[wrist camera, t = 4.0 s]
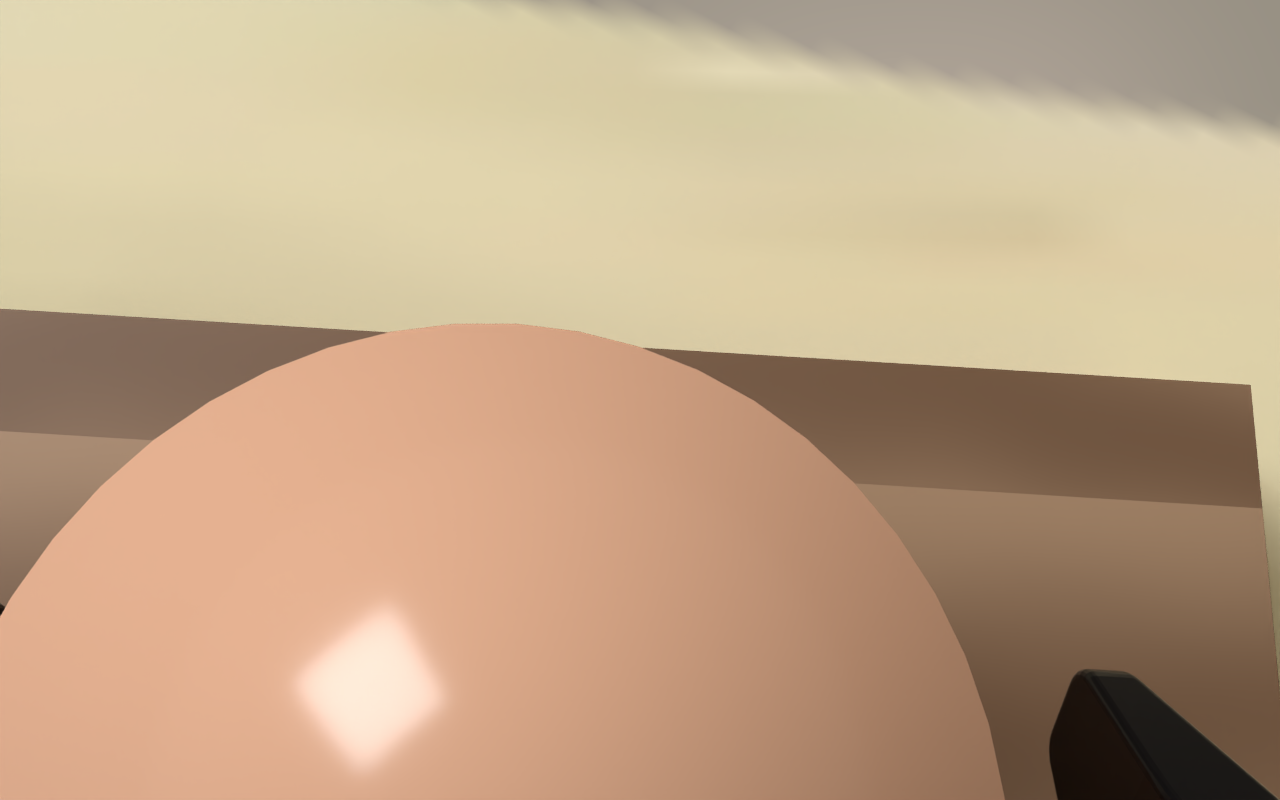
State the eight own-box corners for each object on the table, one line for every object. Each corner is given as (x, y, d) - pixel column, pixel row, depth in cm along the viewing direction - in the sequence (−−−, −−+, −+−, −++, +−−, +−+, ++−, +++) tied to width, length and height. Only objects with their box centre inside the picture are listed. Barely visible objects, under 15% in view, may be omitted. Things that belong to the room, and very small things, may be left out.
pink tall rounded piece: (623, 973, 15) (616, 1835, 4) (338, 765, 15) (-334, 1015, 5) (808, 664, 16) (1195, 679, 5) (534, 482, 16) (362, 154, 6)
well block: (1187, 1124, 14) (1332, 1244, 11) (-85, 1043, 14) (-268, 1142, 11) (1141, 432, 17) (1250, 384, 14) (59, 366, 17) (-61, 304, 14)
